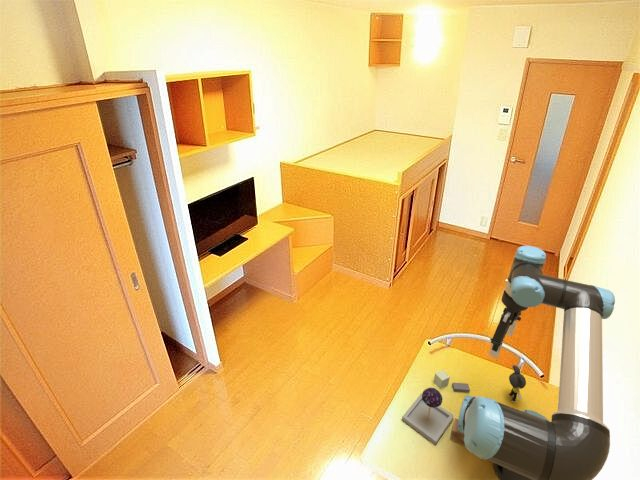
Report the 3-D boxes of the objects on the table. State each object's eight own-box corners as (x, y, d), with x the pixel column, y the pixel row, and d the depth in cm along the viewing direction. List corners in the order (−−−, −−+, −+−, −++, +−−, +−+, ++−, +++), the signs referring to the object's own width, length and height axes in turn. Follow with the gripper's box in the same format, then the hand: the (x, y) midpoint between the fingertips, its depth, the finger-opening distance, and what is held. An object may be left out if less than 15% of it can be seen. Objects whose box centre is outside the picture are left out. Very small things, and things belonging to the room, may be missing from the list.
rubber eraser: (467, 386, 141) (467, 383, 140) (468, 393, 138) (470, 390, 137) (451, 385, 141) (452, 382, 140) (453, 392, 139) (454, 388, 138)
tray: (453, 419, 128) (454, 415, 127) (435, 445, 120) (436, 441, 119) (420, 397, 136) (421, 393, 135) (401, 420, 128) (402, 416, 127)
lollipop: (416, 409, 131) (421, 382, 124) (435, 411, 130) (441, 383, 123) (419, 426, 125) (425, 399, 118) (438, 428, 124) (445, 400, 117)
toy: (522, 408, 132) (534, 381, 124) (508, 408, 132) (518, 381, 125) (512, 389, 139) (522, 363, 132) (498, 389, 139) (508, 362, 132)
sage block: (447, 385, 141) (449, 376, 139) (440, 389, 140) (442, 380, 137) (440, 378, 144) (442, 369, 142) (433, 381, 143) (435, 373, 140)
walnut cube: (467, 433, 124) (470, 424, 121) (464, 445, 120) (467, 436, 117) (452, 426, 126) (455, 418, 123) (449, 438, 122) (452, 430, 119)
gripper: (518, 272, 116) (502, 320, 126) (489, 307, 101) (474, 359, 111) (543, 281, 112) (525, 330, 122) (517, 319, 96) (498, 373, 106)
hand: (500, 344), depth 116 cm, fingers open, 13 cm apart
